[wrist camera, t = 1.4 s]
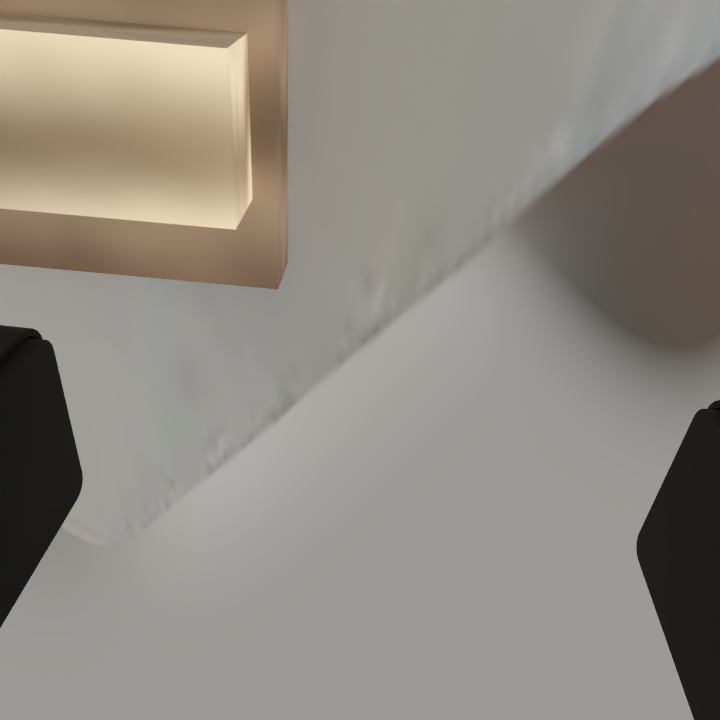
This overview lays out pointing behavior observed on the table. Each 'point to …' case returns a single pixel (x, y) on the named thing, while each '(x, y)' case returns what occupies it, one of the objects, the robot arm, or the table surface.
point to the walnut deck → (172, 241)
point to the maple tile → (124, 121)
